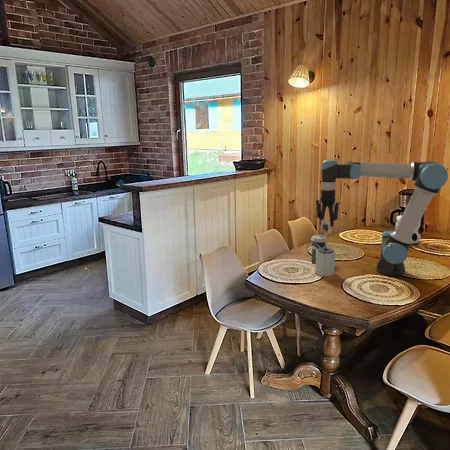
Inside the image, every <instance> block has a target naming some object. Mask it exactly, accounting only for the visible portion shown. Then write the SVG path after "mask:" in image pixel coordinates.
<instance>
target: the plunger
mask: <svg viewBox="0 0 450 450" xmlns="http://www.w3.org/2000/svg"><path fill="white" fill-rule="evenodd" d="M328 225H329V223H325V224H324V225H323V229H324V230H325V233H324V234H325V235H324V236H325V251H327V248H328ZM324 254H326V253H324Z"/></svg>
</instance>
